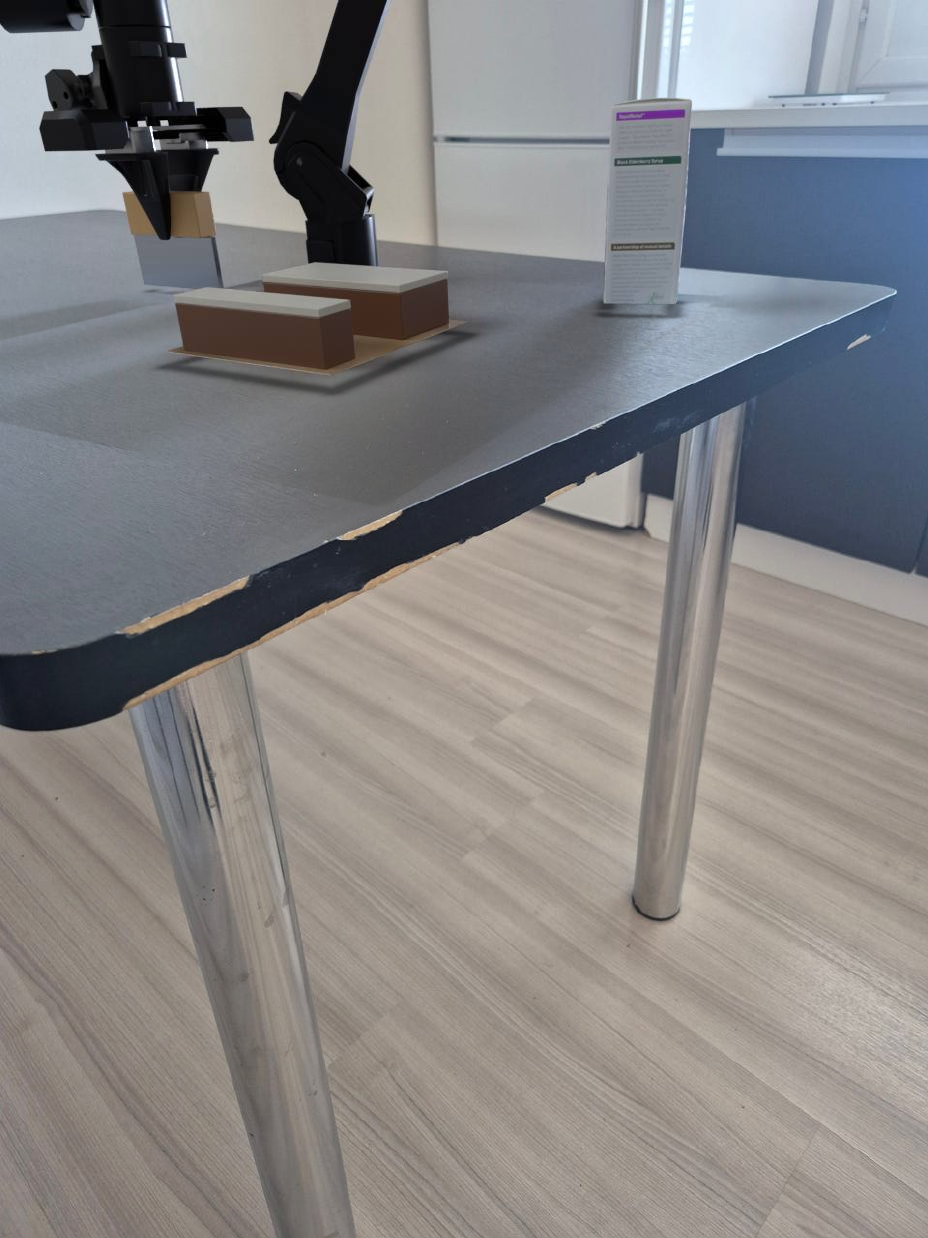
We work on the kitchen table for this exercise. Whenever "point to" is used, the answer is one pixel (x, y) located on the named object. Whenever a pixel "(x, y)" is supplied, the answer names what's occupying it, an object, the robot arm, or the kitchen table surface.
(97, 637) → the kitchen table surface
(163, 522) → the kitchen table surface
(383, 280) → the cake
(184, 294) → the cake slice
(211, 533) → the kitchen table surface
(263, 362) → the cake board
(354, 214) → the robot arm
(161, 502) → the kitchen table surface
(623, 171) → the syrup box
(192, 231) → the scraper
